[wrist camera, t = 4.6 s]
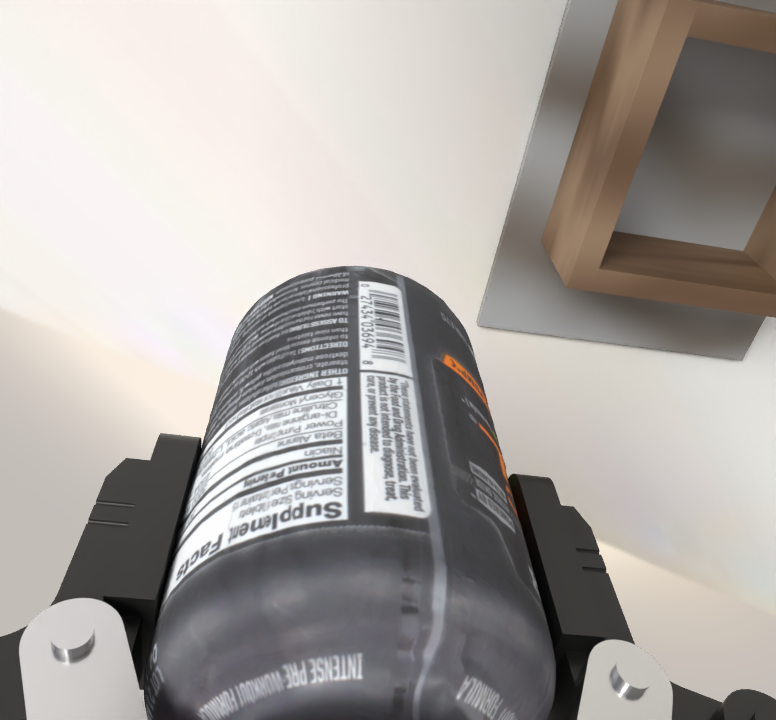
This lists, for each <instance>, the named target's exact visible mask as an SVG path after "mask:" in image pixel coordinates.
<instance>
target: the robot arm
mask: <svg viewBox="0 0 776 720" xmlns="http://www.w3.org/2000/svg"><path fill="white" fill-rule="evenodd" d="M200 452H201V438H199V437H190V436H181V435H172V434H162V433H161V434H160V435H159V437H158V440H157V442H156V446H155V448H154V451H153V454H152V457H151V460H150V461H149V460H140V459H130V458H126V459H125V460H124V461H123V462H121V463H120V464H119V465H118V466H117V467H116V468H115V469H114V470H113V471H112V472H111V473H110V474H109V475H108V476H106V478H105V481H104V483H103V485H102V488H101V490H100V493H99V495H98V498H97V500H96V505H94V507H93V509H92V512H91V514H90V517H89V521H88V524H86V526H85V529H84V531H83V534H82V536H81V538H80V541H79V543H78V546H77V548H76V551H75V553H74V556H73V558H72V560H71V563H70V565H69V567H68V570H67V572H66V575H65V577H64V580H63V582H62V584H61V587H60V589H59V592H58V594H57V596H56V598H55V600H54V601H53V603H52V604H51V606H50V607H49V608H47V609H45V610H44V611H42V612H41V613H40V614H38V615H37V616H36V617H35V618H34V619H33V620H32V622H30V624H29V625H28V626H26V627H24V628H22V629H20V630H19V631H16V632H14V633H11V634H8V635H5V636H2V637H0V720H147V717H146V713H145V709H144V705H143V701H142V697H141V693H140V690H144V669H145V665H146V661H147V656H148V652H149V649H150V645H151V640H152V636H153V633H154V630H155V627H156V622H157V618H158V614H159V610H160V607H161V602H162V598H163V594H164V590H165V586H166V581H167V577H168V572H169V569H170V565H171V559H172V556H173V552H174V549H175V545H176V540H177V535H178V532H179V527H180V522H181V518H182V514H183V512H184V508H185V504H186V500H187V497H188V494H189V490H190V487H191V484H192V480H193V477H194V474H195V469H196V466H197V463H198V458H199V455H200ZM508 482H509V485H510V488H511V492H512V495H513V499H514V503H515V506H516V511H517V515H518V519H519V521H520V524H521V527H522V532H523V535H524V539H525V542H526V546H527V550H528V553H529V557H530V561H531V565H532V568H533V571H534V575H535V579H536V583H537V587H538V592H539V595H540V598H541V602H542V606H543V609H544V612H545V615H546V620H547V624H548V627H549V632H550V637H551V640H552V645H553V650H554V656H555V662H556V685H555V695H554V701H553V705H552V709H551V711H550V714H549V717H548V720H776V700H775V699H774V698H772V697H770V696H768V695H766V694H764V693H761V692H758V691H755V690H750V689H741V690H737V691H735V692H732V693H731V694H730V695H729V696H728V697H727V698H726V699H725V701H724V702H723V703H722V702H719V701H717V700H714V699H711V698H709V697H706V696H703V695H701V694H698V693H696V692H693V691H691V690H688V689H685V688H683V687H680V686H678V685H676V684H674V683H672V682H671V681H670V680H669V678H668V676H667V674H666V672H665V671H664V669H663V668H662V667H661V665H660V664H659V663H658V662H657V661H656V660H655V659H654V658H653V657H652V656H651V655H650V654H649V653H648V652H646V651H645V650H643V649H642V648H640V647H638V646H636V645H635V643H634V641H633V638H632V636H631V633H630V631H629V628H628V625H627V622H626V620H625V617H624V614H623V612H622V609H621V606H620V604H619V601H618V598H617V596H616V593H615V591H614V588H613V585H612V583H611V580H610V577H609V575H608V573H606V566H605V564H604V561H603V559H602V556H601V555H599V548H598V545H597V543H596V540H595V537H594V535H593V532H592V529H591V527H590V526H589V525H588V524H587V522H586V521H585V520H584V519H583V518H582V516H581V515H580V514H579V513H578V512H577V510H576V509H575V508H574V507H571V506H562V505H561V504H560V501H559V498H558V495H557V492H556V489H555V486H554V484H553V482H552V480H551V479H550V478H547V477H538V476H529V475H520V474H512V475H510V477H509V478H508Z"/></svg>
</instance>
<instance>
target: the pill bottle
mask: <svg viewBox="0 0 776 720" xmlns="http://www.w3.org/2000/svg"><path fill="white" fill-rule="evenodd" d="M555 685H556V662H555V656H554V650H553V645H552V640H551V637H550V632H549V627H548V624H547V620H546V615H545V612H544V609H543V606H542V602H541V598H540V595H539V592H538V587H537V583H536V579H535V575H534V571H533V568H532V565H531V561H530V557H529V553H528V550H527V546H526V542H525V539H524V535H523V532H522V527H521V524H520V521H519V519H518V515H517V511H516V506H515V503H514V499H513V495H512V492H511V488H510V485H509V482H508V478H507V474H506V466H505V463H504V460H503V457H502V453H501V450H500V447H499V443H498V439H497V435H496V432H495V429H494V424H493V420H492V417H491V414H490V410H489V407H488V403H487V398H486V395H485V391H484V387H483V383H482V380H481V377H480V374H479V371H478V367H477V363H476V360H475V356H474V352H473V349H472V345H471V342H470V340H469V337H468V335H467V332H466V330H465V329H464V327H463V325H462V324H461V322H460V321H459V320H458V318H457V317H456V316H455V314H454V313H453V312H452V311H451V310H450V309H449V308H448V306H447V305H446V303H445V302H444V301H443V300H442V299H441V298H439V297H438V296H437V295H436V294H434V293H433V292H432V291H430V290H429V289H427V288H426V287H424V286H423V285H421V284H419V283H417V282H416V281H414V280H412V279H410V278H408V277H405V276H402V275H399V274H396V273H394V272H391V271H388V270H384V269H378V268H372V267H364V266H340V267H332V268H325V269H319V270H315V271H311V272H308V273H304V274H302V275H299V276H296V277H294V278H292V279H290V280H288V281H286V282H284V283H283V284H281V285H279V286H277V287H276V288H274V289H272V290H271V291H270V292H268V293H267V294H266V295H264V296H263V297H261V298H260V299H259V300H258V301H257V302H256V303H255V304H254V305H253V306H252V307H251V309H250V310H249V311H248V312H247V313H246V315H245V316H244V318H243V319H242V320H241V322H240V323H239V325H238V327H237V329H236V331H235V333H234V335H233V338H232V341H231V344H230V347H229V350H228V353H227V356H226V361H225V364H224V367H223V371H222V374H221V377H220V382H219V386H218V390H217V393H216V397H215V401H214V405H213V408H212V411H211V414H210V420H209V423H208V426H207V429H206V434H205V436H204V440H203V444H202V448H201V452H200V455H199V458H198V463H197V466H196V469H195V474H194V477H193V480H192V484H191V487H190V490H189V494H188V497H187V500H186V504H185V508H184V512H183V514H182V518H181V522H180V527H179V532H178V535H177V540H176V545H175V549H174V552H173V556H172V559H171V565H170V569H169V572H168V577H167V581H166V586H165V590H164V594H163V598H162V602H161V607H160V610H159V614H158V618H157V622H156V627H155V630H154V633H153V636H152V640H151V645H150V649H149V652H148V656H147V661H146V665H145V669H144V700H145V708H146V713H147V719H148V720H548V717H549V714H550V711H551V709H552V705H553V701H554V695H555Z"/></svg>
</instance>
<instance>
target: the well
mask: <svg viewBox="0 0 776 720" xmlns="http://www.w3.org/2000/svg"><path fill="white" fill-rule="evenodd" d="M766 316H769V317H776V0H568V2H567V6H566V9H565V13H564V16H563V20H562V23H561V27H560V30H559V34H558V37H557V41H556V44H555V48H554V51H553V55H552V58H551V62H550V65H549V69H548V73H547V76H546V80H545V83H544V87H543V90H542V94H541V97H540V101H539V104H538V108H537V111H536V115H535V118H534V122H533V125H532V129H531V132H530V136H529V139H528V143H527V146H526V150H525V153H524V157H523V160H522V164H521V167H520V171H519V174H518V178H517V181H516V185H515V188H514V192H513V195H512V199H511V203H510V206H509V210H508V213H507V217H506V220H505V224H504V227H503V231H502V234H501V238H500V241H499V245H498V248H497V252H496V255H495V259H494V262H493V266H492V269H491V273H490V276H489V280H488V283H487V287H486V290H485V294H484V297H483V301H482V304H481V308H480V311H479V315H478V318H477V325H478V326H483V327H491V328H499V329H506V330H514V331H522V332H529V333H537V334H544V335H552V336H560V337H567V338H575V339H582V340H590V341H598V342H605V343H613V344H621V345H628V346H636V347H643V348H651V349H659V350H666V351H674V352H681V353H689V354H697V355H704V356H712V357H720V358H727V359H735V360H742V359H743V358H744V356H745V354H746V352H747V350H748V348H749V347H750V345H751V343H752V341H753V339H754V337H755V336H756V334H757V332H758V330H759V328H760V326H761V325H762V323H763V321H764V319H765V317H766Z"/></svg>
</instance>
